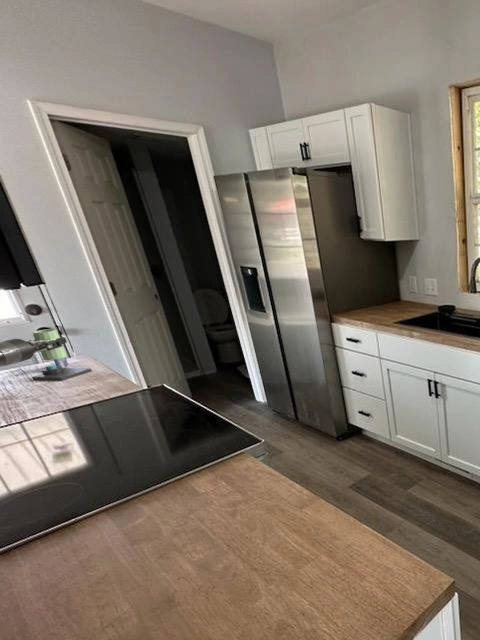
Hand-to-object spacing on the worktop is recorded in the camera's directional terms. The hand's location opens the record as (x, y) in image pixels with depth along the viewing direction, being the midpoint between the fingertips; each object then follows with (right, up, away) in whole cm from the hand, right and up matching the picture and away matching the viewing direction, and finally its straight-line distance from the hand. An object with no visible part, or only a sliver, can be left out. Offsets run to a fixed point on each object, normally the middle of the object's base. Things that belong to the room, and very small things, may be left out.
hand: (54, 340), depth 150 cm
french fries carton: (-25, -9, +26) cm, 37 cm away
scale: (-13, -13, +15) cm, 24 cm away
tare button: (-17, -10, +15) cm, 25 cm away
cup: (0, -6, 0) cm, 6 cm away
